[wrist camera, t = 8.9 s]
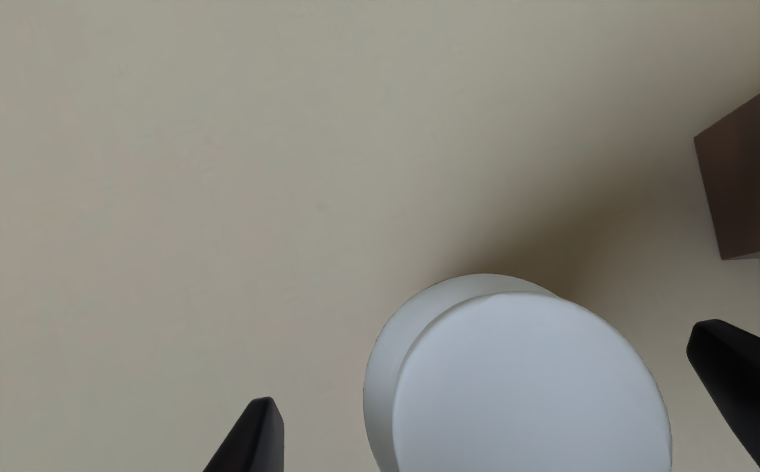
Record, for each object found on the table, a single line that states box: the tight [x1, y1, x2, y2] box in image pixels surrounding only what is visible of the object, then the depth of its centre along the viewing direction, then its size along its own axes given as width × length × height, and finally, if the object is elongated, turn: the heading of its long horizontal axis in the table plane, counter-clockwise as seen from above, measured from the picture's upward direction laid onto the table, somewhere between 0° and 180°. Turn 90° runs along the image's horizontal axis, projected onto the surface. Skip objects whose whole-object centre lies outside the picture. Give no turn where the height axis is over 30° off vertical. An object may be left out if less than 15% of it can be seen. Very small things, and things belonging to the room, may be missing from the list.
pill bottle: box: [363, 273, 672, 472], centre depth 11 cm, size 5×5×10 cm
